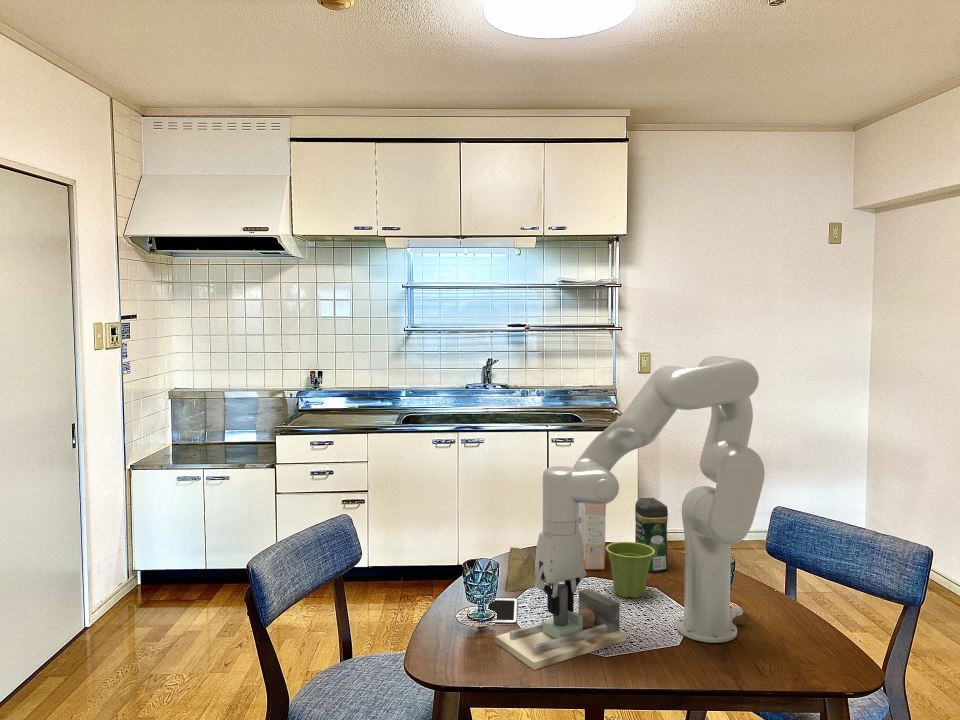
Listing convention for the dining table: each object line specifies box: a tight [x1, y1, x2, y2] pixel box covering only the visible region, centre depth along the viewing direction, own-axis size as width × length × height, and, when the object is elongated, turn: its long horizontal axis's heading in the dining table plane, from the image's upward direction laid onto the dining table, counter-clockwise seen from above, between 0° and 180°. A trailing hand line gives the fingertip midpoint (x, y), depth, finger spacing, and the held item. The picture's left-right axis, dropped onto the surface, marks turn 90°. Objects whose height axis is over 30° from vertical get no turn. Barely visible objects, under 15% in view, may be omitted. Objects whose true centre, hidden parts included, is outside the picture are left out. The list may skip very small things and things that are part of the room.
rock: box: [505, 546, 546, 593], centre depth 188 cm, size 11×9×10 cm
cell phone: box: [487, 596, 519, 625], centre depth 173 cm, size 8×15×1 cm, turn 176°
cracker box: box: [579, 503, 607, 571], centre depth 206 cm, size 14×6×21 cm, turn 1°
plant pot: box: [605, 541, 655, 599], centre depth 183 cm, size 12×12×11 cm
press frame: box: [494, 587, 627, 671], centre depth 157 cm, size 24×14×8 cm, turn 122°
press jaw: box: [542, 583, 583, 639], centre depth 157 cm, size 6×6×10 cm
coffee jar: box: [634, 497, 669, 573], centre depth 202 cm, size 10×8×19 cm
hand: (560, 610), depth 156 cm, fingers closed on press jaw, 3 cm apart
